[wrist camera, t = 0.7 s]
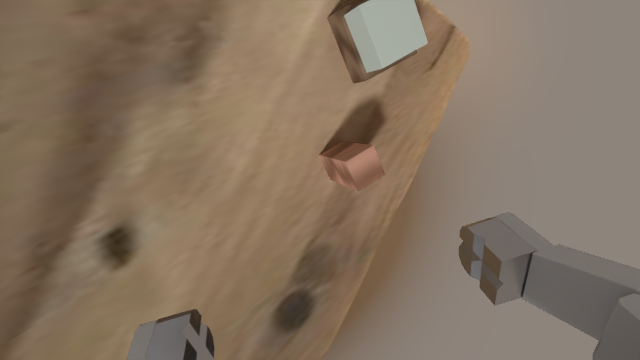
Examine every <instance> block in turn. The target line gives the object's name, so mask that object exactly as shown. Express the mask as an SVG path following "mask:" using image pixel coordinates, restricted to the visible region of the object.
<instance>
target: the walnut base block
mask: <svg viewBox="0 0 640 360" xmlns="http://www.w3.org/2000/svg"><path fill="white" fill-rule="evenodd" d="M367 1H369V0H359V1H357V2H355V3H353V4H351V5H348V6H346V7H344V8H342V9H340V10H338V11H336V12H335V13H334V14H332V15H331V16H329V17H328V18H327V19H328V21H329V24H330V26H331V29H332V31H333V34H334V36H335V39H336V41H337V44H338V46H339V49H340V51H341V54H342V56H343V59H344V61H345V64H346V66H347V69H348V71H349V74H350V76H351V79H352V82H353V83H358V82H362V81H366V80H368V79H370V78H372V77H374V76H375V75H377V74H379V73H381V72H383V71H385V70H387V69H388V68H390V67H392V66H394V65H396V64H398V63H400V62H402V61H403V60H405V59H407V58H409V57H411V56H413V55H415V54H416V53H417V51H416V50H415V51H413V52H411V53H409V54H408V55H406V56H404V57H402V58H401V59H399V60H397V61H395V62H393V63H392V64H390V65H388V66H386V67H385V68H383V69H379V70H375V71H372V72H368V73H367V72H366V70H365V67H364V65H363V62H362V60H361V57H360V55H359V52H358V50H357V47H356V45H355V42H354V40H353V37H352V35H351V32H350V30H349V27H348V24H347V22H346V19H345V17H344V15H345V14H347V13H348V12H350V11H351V10H353V9H354V8H356V7H357V6H359V5H361V4H363V3H365V2H367Z"/></svg>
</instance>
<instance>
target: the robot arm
mask: <svg viewBox="0 0 640 360" xmlns="http://www.w3.org/2000/svg"><path fill="white" fill-rule="evenodd" d="M460 237H461V239H462V240H463V242H462V244H461V245H460V246H459V257H460V260H461V263H462V265H463V267H464V269H465V270H466V271H467V273H468V274H469V275H470V276H471V277H473V278H476V279H478V280H480V288H481V290H482V291H483V292H484V293H485V294H486V296H487V297H488V298H489V299H490V300H491V302H492V303H493V304H494V305H498V304H502V303H505V302H508V301H512V300H515V299H518V298H522V299H523V300H525V301H527V302H529V303H531V304H533V305H534V306H536V307H538V308H540V309H542V310H543V311H545V312H547V313H549V314H551V315H553V316H555V317H557V318H558V319H560V320H562V321H564V322H566V323H568V324H569V325H571V326H573V327H575V328H577V329H579V330H581V331H583V332H584V333H586V334H588V335H590V336H592V337H594V338H596V339H597V340H599V342H598V344H597V346H596V348H595V350H594V352H593V360H640V269H637V268H634V267H630V266H627V265H624V264H621V263H617V262H614V261H611V260H608V259H605V258H601V257H598V256H595V255H591V254H588V253H585V252H582V251H578V250H575V249H572V248H569V247H565V246H562V245H556V246H554V245H553V244H551V243H550V242H549V241H547V240H546V239H545V238H544V237H542V236H541V235H540V234H539V233H537V232H536V231H535V230H533V229H532V228H531V227H529V226H528V225H527V224H525V223H524V222H523V221H522V220H521V219H519V218H518V217H516V216H515V215H514V214H512V213H509V212H507V213H504V214H501V215H497V216H495V217H492V218H487V219H484V220H481V221H478V222H475V223H472V224H469V225H466V226H462V228H461V229H460ZM201 317H202V316H201V315H200V313H199V312H198V310H197V309H193V310H189V311H186V312H182V313H179V314H175V315H171V316H168V317H164V318H161V319H158V320H155V321H151V322H148V323H144V324H140V326H139V327H138V328H137V329H136V331H135V335H134V338H133V341H132V344H131V347H130V350H129V353H128V356H127V359H126V360H213V359H214V341H213V336H212V333H211V331H210V329H209V327H208V326H207V325H205V324H202V323H201Z"/></svg>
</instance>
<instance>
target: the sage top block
mask: <svg viewBox="0 0 640 360" xmlns="http://www.w3.org/2000/svg"><path fill="white" fill-rule="evenodd" d="M344 17H345V19H346V22H347V24H348V27H349V30H350V32H351V35H352V37H353V40H354V42H355V45H356V47H357V50H358V52H359V55H360V57H361V60H362V62H363V65H364V67H365V70H366V72H367V73H368V72H372V71H375V70H379V69H383V68H385V67H386V66H388V65H390V64H392V63H393V62H395V61H397V60H399V59H401V58H402V57H404V56H406V55H408V54H409V53H411V52H413V51H415V50H417V49H418V48H420V47H422V46H424V45H425V44H427V43H428V42H427V39H426V36H425V32H424V29H423V26H422V23H421V20H420V17H419V14H418V11H417V7H416V4H415V1H414V0H369V1H367V2H365V3H363V4H361V5H359V6H357V7H356V8H354V9H353V10H351V11H350V12H348V13H347V14H345V15H344Z"/></svg>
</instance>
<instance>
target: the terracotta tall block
mask: <svg viewBox="0 0 640 360" xmlns="http://www.w3.org/2000/svg"><path fill="white" fill-rule="evenodd" d="M319 156H320V158H321V160H322V162H323V164H324V166H325V169H326V171H327V173H328V175H329V177H330V179H331V180H333V181H335V182H337V183H340V184H342V185H345V186H347V187H350V188H352V189H354V190H357V191H360V190H362V189H363V188H365V187H366V186H368V185H370V184H371V183H373V182H374V181H376V180H377V179H379V178H380V177H382V176H384V175H385V173H384V170H383V168H382V165H381V163H380V160H379V158H378V155H377V153H376V150H375V148H374V145H368V144H360V143H353V142H345V141H342V142H340V143H339V144H337V145H335V146H334V147H332V148H330V149H328V150H327V151H325V152H323V153H322V154H320V155H319Z"/></svg>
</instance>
